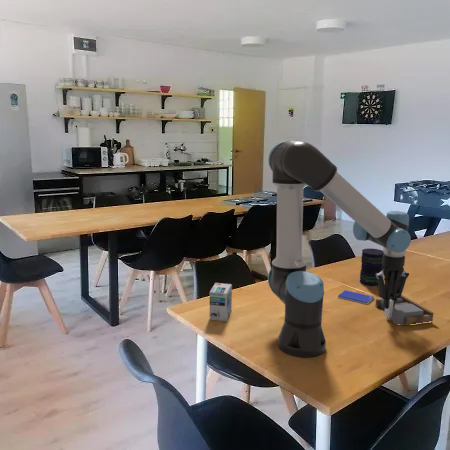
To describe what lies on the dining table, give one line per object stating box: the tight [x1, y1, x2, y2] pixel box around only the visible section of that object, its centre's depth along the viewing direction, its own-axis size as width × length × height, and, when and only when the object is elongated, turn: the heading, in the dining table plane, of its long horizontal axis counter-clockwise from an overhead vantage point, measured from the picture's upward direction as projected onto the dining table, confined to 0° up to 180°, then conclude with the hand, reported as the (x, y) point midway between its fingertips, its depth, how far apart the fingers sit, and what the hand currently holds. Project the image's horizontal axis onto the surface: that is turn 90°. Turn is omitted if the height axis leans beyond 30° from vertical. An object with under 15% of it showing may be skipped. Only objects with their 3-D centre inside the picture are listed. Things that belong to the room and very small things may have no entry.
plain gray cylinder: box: [380, 298, 404, 311], centre depth 179 cm, size 8×4×4 cm, turn 105°
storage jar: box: [359, 248, 384, 287], centre depth 207 cm, size 10×10×15 cm
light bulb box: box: [209, 282, 233, 322], centre depth 169 cm, size 11×7×11 cm, turn 170°
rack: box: [374, 294, 434, 326], centre depth 173 cm, size 11×19×4 cm, turn 15°
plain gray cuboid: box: [386, 304, 423, 325], centre depth 168 cm, size 10×7×5 cm
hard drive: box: [337, 289, 375, 305], centre depth 190 cm, size 2×8×12 cm
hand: (388, 316), depth 168 cm, fingers closed
